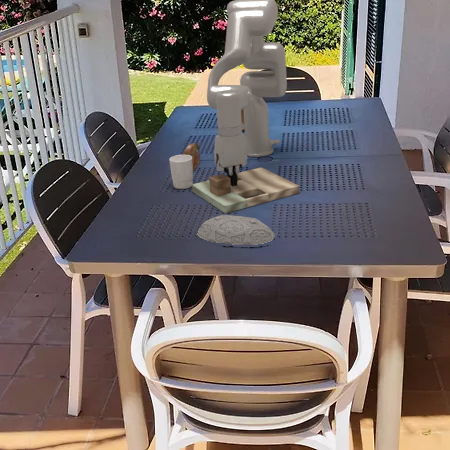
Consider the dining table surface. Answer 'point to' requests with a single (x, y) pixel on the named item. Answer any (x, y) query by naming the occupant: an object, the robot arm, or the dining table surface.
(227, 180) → the walnut block
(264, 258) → the dining table surface
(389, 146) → the dining table surface
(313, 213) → the dining table surface
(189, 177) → the white cup
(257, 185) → the board
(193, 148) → the tin
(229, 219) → the embossed grey dome
